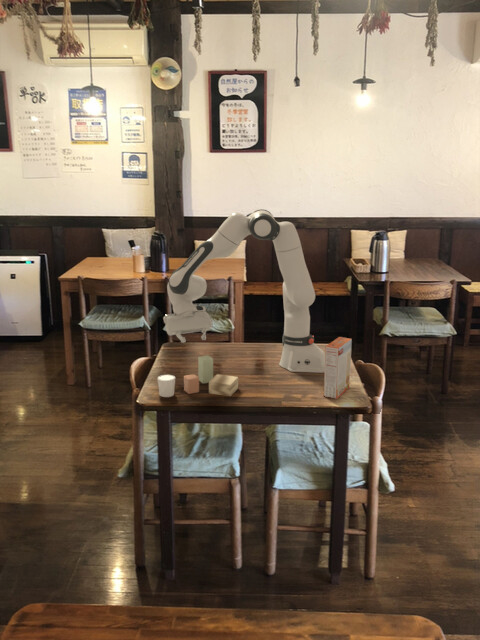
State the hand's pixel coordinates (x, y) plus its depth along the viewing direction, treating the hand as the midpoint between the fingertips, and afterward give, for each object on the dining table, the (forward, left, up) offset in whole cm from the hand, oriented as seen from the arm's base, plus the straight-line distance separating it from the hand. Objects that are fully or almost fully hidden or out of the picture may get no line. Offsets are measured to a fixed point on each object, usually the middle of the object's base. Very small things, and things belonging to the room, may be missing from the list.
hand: (194, 340), depth 259 cm
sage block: (-8, +8, -14) cm, 18 cm away
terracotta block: (-6, +20, -14) cm, 26 cm away
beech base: (-18, +16, -14) cm, 28 cm away
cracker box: (-61, +5, -14) cm, 63 cm away
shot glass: (+2, +26, -14) cm, 30 cm away
